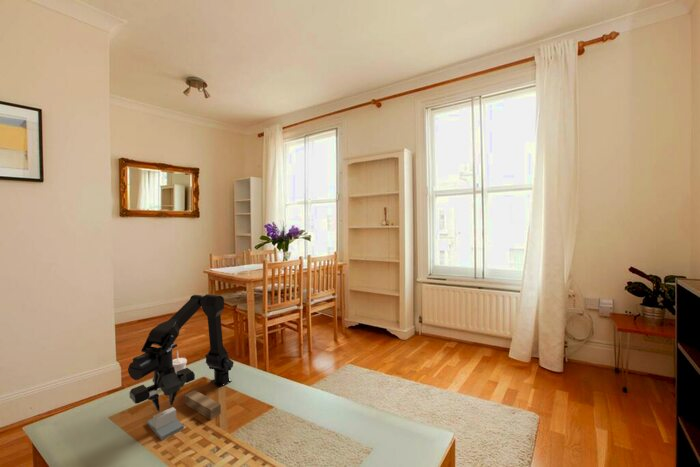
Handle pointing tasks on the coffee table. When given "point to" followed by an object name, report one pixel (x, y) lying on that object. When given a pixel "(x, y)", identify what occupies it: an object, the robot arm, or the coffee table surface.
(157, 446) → the coffee table surface
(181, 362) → the smoothie
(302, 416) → the coffee table surface
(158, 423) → the stand
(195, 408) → the walnut bar
